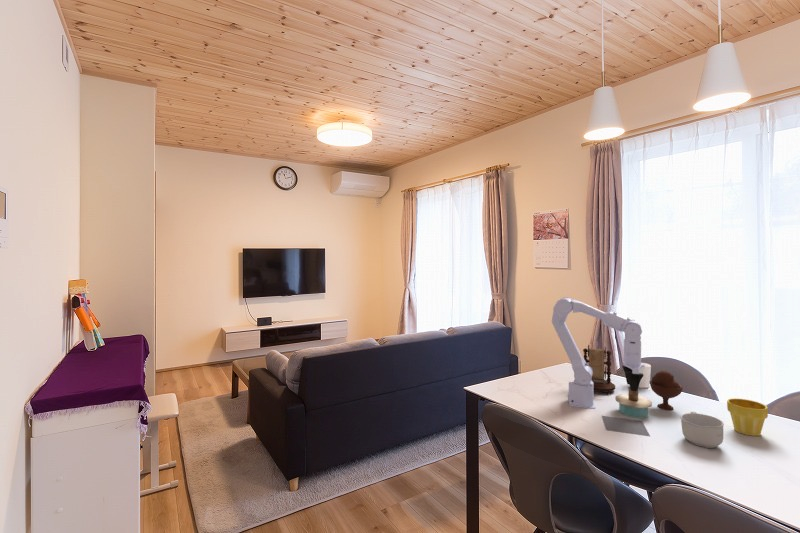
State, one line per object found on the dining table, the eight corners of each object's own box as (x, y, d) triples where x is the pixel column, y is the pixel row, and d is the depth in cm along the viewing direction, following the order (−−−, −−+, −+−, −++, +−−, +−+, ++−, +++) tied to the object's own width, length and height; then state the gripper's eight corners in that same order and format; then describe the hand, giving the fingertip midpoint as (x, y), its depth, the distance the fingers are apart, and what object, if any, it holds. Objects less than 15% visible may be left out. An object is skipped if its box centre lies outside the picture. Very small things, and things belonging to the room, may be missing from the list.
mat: (606, 431, 132) (606, 429, 132) (601, 416, 144) (601, 415, 144) (650, 437, 127) (650, 436, 127) (641, 421, 140) (641, 420, 139)
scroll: (577, 391, 172) (577, 347, 172) (580, 382, 185) (580, 340, 185) (615, 396, 165) (615, 350, 164) (615, 386, 178) (615, 344, 177)
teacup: (726, 455, 116) (726, 429, 115) (682, 446, 121) (682, 421, 121) (718, 437, 127) (718, 413, 127) (678, 429, 133) (678, 406, 133)
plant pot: (723, 430, 132) (723, 402, 132) (731, 422, 138) (731, 395, 138) (764, 441, 124) (764, 411, 124) (770, 432, 130) (771, 404, 130)
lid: (618, 405, 143) (618, 391, 143) (612, 394, 155) (612, 381, 154) (656, 409, 139) (656, 395, 139) (647, 398, 150) (647, 385, 150)
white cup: (654, 388, 175) (654, 366, 175) (637, 388, 175) (637, 366, 175) (643, 382, 183) (644, 362, 183) (627, 382, 183) (627, 362, 183)
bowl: (621, 416, 144) (621, 404, 144) (617, 407, 153) (617, 396, 153) (649, 420, 141) (650, 407, 141) (644, 410, 150) (644, 399, 149)
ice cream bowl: (688, 414, 146) (688, 375, 146) (655, 412, 148) (656, 373, 148) (674, 403, 156) (674, 367, 156) (644, 402, 159) (644, 366, 158)
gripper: (648, 357, 139) (648, 395, 139) (640, 349, 152) (640, 383, 153) (626, 356, 142) (626, 392, 142) (620, 347, 155) (620, 380, 155)
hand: (632, 387), depth 147 cm, fingers open, 7 cm apart
